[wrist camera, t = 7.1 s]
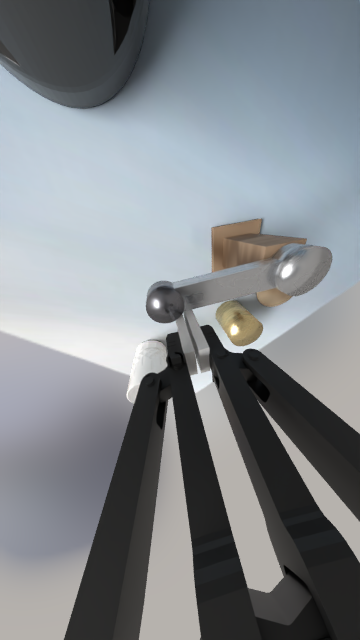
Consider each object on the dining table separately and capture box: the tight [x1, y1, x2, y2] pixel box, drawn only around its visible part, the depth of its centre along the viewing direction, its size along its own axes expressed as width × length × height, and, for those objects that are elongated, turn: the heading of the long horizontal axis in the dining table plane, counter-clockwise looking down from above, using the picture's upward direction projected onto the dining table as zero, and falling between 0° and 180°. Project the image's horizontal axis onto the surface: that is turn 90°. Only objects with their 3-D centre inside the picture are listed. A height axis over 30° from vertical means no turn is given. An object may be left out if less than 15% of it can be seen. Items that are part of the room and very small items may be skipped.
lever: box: [146, 243, 332, 323], centre depth 12 cm, size 16×4×2 cm, turn 101°
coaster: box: [257, 288, 292, 307], centre depth 27 cm, size 9×9×1 cm
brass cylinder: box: [216, 301, 263, 346], centre depth 26 cm, size 6×6×7 cm
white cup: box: [127, 340, 167, 403], centre depth 28 cm, size 8×8×10 cm
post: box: [212, 219, 307, 272], centre depth 18 cm, size 7×7×10 cm
